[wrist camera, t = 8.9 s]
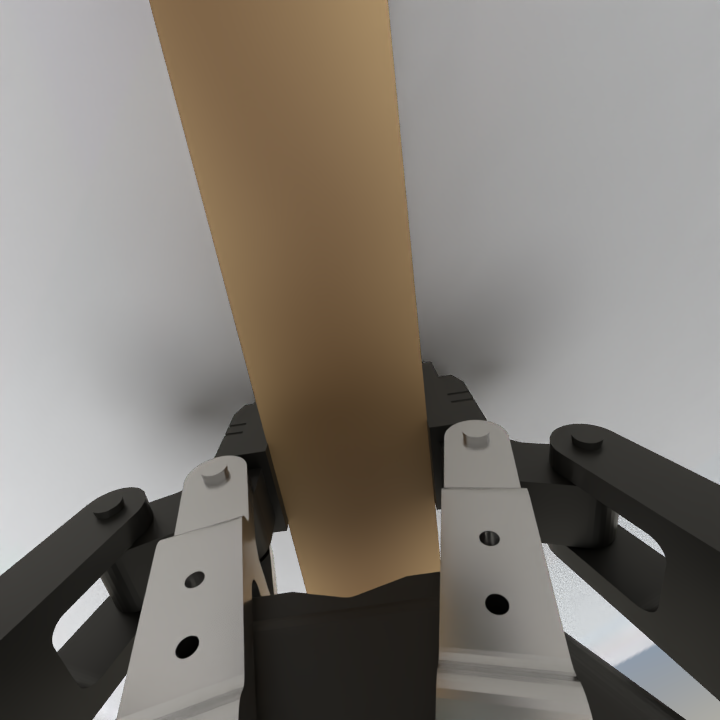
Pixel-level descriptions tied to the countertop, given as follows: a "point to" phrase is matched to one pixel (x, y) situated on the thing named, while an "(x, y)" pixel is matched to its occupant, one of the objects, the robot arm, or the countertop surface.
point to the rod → (315, 266)
